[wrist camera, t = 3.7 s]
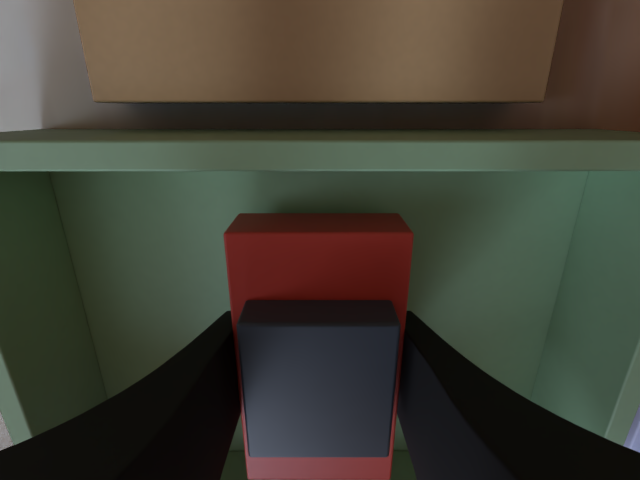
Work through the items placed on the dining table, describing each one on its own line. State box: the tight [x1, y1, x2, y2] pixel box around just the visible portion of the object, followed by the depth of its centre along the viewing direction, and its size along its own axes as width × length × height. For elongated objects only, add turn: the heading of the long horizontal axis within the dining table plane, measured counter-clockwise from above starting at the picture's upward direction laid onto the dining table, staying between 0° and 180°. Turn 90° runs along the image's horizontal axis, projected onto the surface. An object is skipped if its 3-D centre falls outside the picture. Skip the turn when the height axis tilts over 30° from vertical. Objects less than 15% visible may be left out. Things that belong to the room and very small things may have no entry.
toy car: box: [223, 213, 414, 480], centre depth 10 cm, size 4×8×3 cm, turn 0°
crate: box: [0, 129, 640, 480], centre depth 11 cm, size 16×12×4 cm
